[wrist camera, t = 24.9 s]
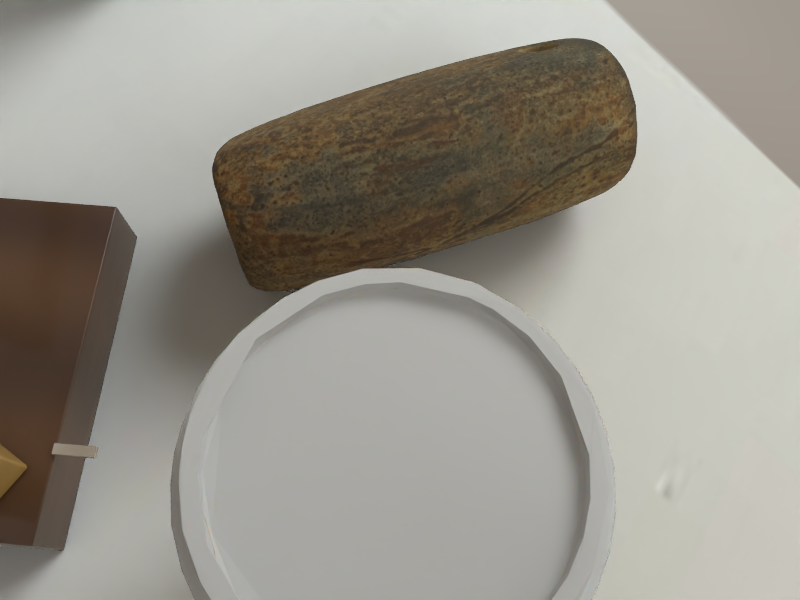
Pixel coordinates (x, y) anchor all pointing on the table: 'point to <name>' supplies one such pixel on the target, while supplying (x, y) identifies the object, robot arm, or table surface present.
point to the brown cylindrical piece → (426, 162)
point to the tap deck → (54, 352)
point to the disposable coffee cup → (393, 452)
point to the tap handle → (9, 469)
